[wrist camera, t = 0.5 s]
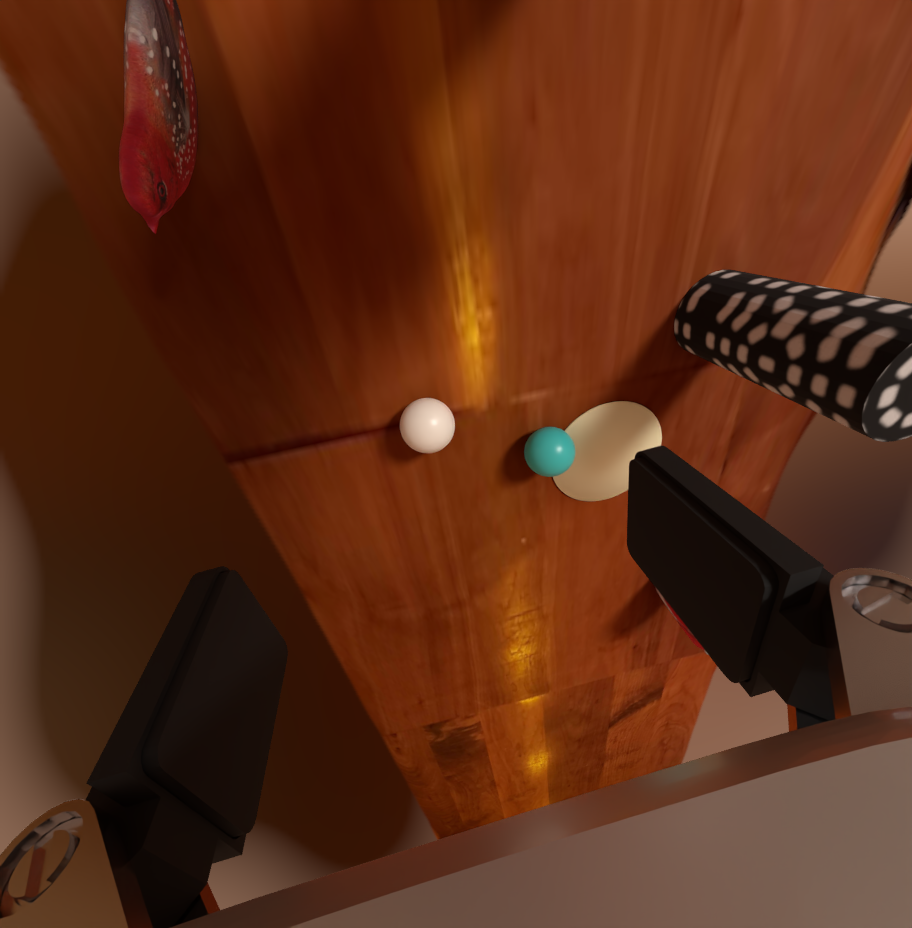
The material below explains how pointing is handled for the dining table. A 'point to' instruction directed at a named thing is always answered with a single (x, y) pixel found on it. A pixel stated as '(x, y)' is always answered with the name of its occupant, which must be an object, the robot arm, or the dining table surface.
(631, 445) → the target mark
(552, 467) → the object ball
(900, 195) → the dining table surface
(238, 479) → the dining table surface
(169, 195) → the decorative bird figurine
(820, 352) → the spotted tube
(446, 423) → the glossy white ball
